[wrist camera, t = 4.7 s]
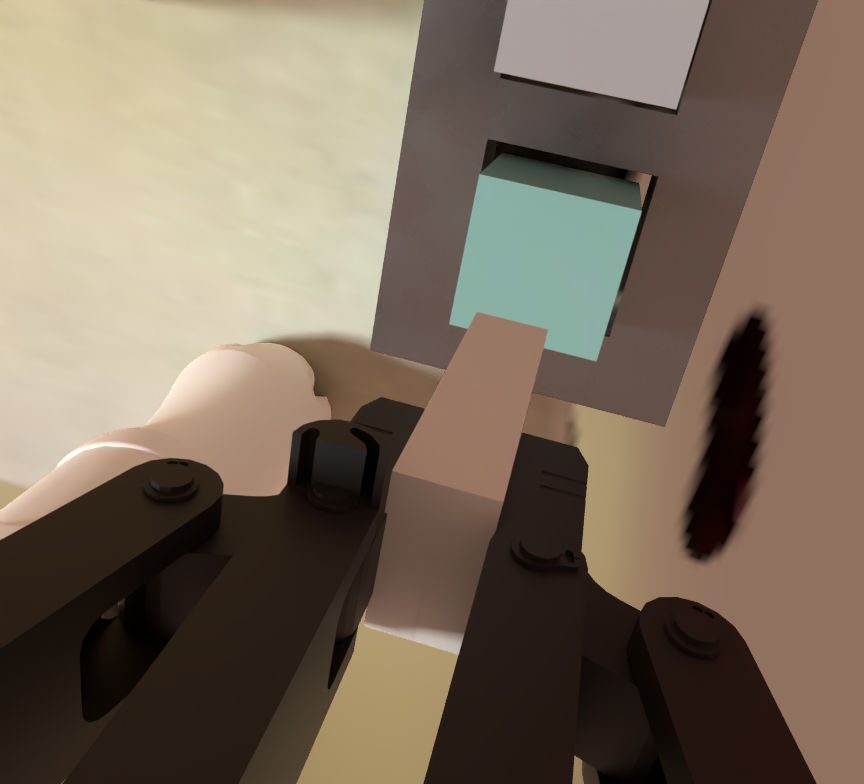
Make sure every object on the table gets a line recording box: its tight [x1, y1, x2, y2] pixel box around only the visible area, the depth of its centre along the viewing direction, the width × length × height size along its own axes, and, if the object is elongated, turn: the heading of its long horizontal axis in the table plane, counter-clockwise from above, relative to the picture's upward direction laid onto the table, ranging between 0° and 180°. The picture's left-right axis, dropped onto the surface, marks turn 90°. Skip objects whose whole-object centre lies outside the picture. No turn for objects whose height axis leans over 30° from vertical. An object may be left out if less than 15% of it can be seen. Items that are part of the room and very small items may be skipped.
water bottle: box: [0, 343, 331, 540], centre depth 26 cm, size 7×7×25 cm
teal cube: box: [449, 153, 642, 361], centre depth 27 cm, size 5×5×5 cm
